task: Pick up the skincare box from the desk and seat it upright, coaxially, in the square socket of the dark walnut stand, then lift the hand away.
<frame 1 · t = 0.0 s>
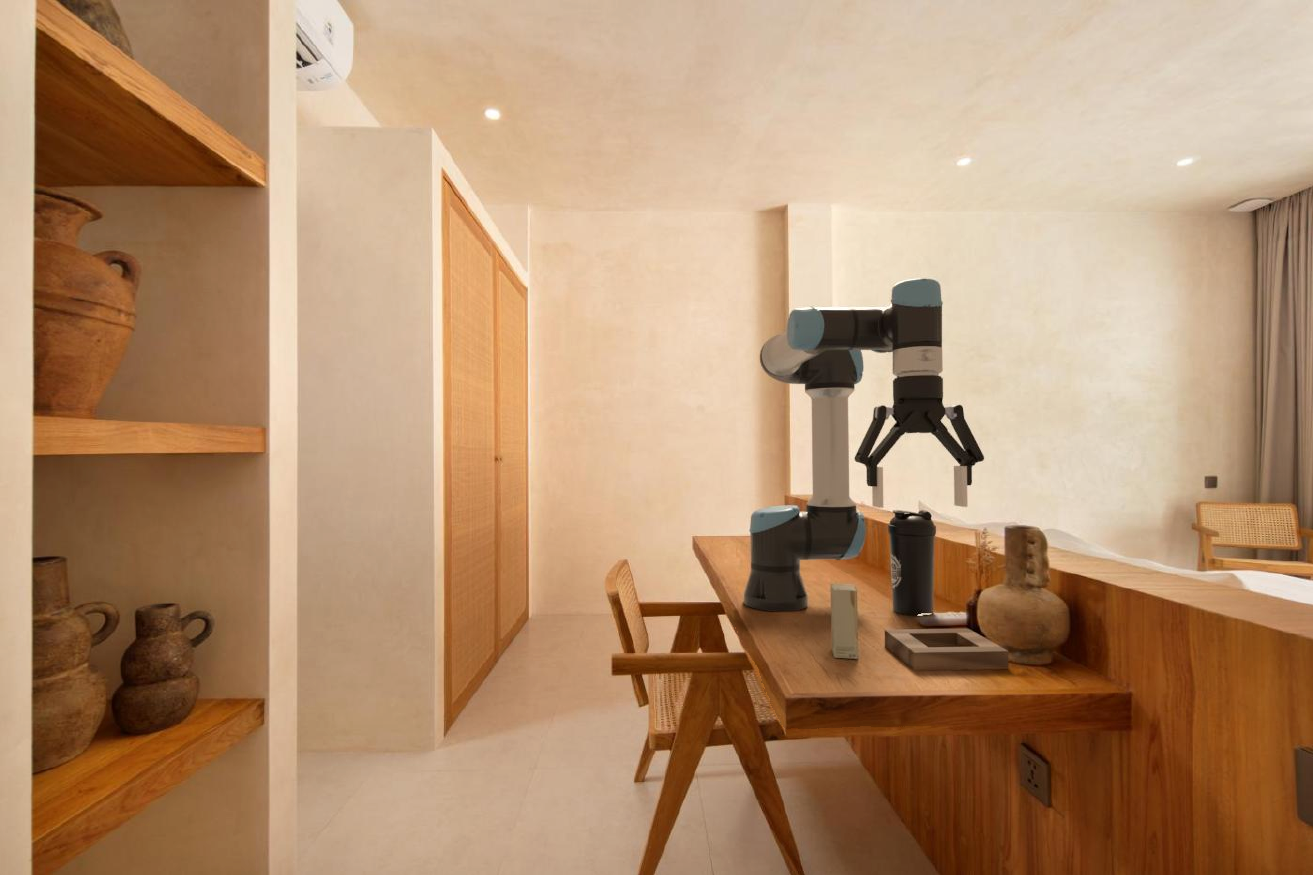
hand: (919, 506, 100), 28 cm above the table, tool pointing down, fingers open, 13 cm apart
skincare box: (844, 654, 113), on the table
socket stand: (943, 656, 111), on the table
water bottle: (912, 612, 141), on the table
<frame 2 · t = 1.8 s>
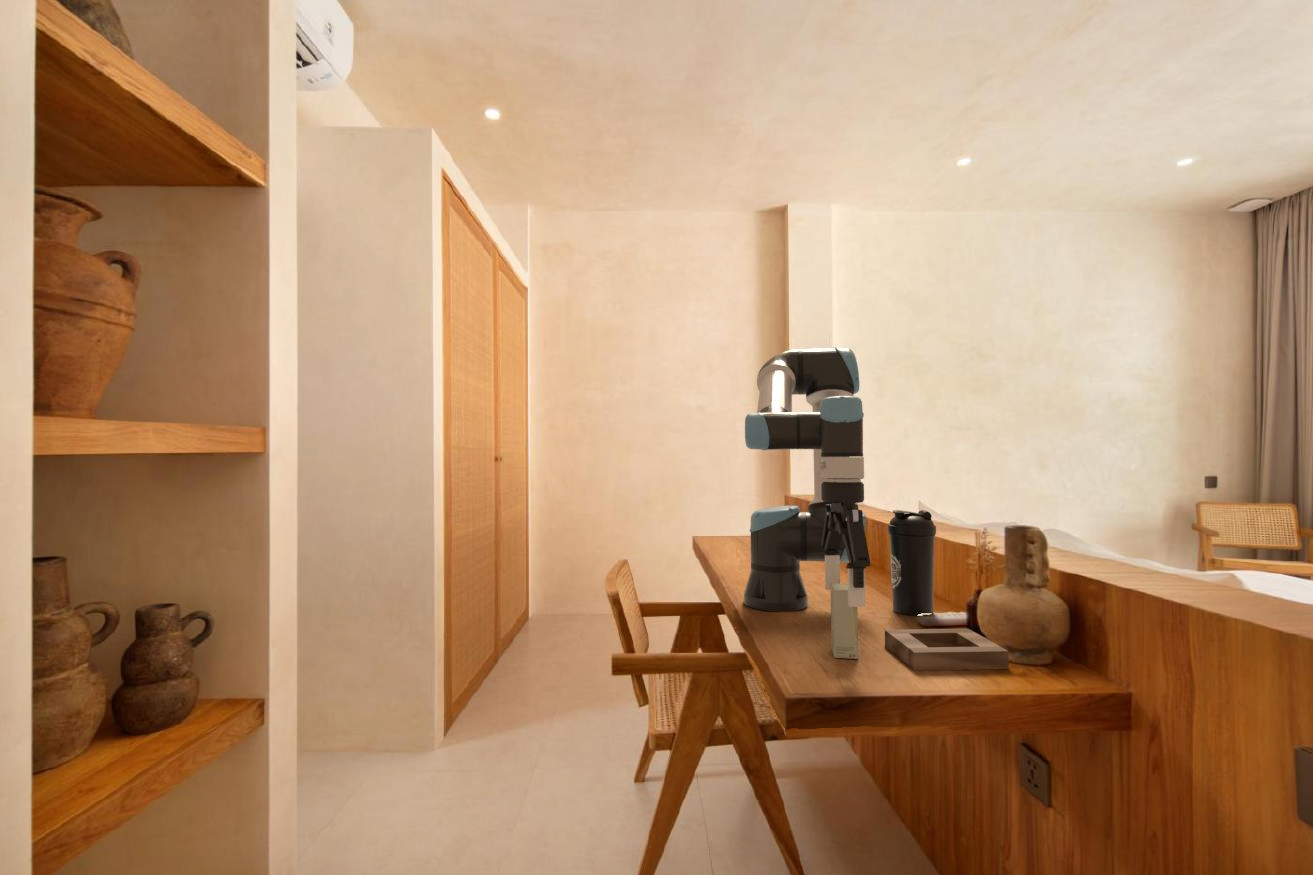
hand: (844, 597, 113), 10 cm above the table, tool pointing down, fingers open, 13 cm apart
nothing on the table moved.
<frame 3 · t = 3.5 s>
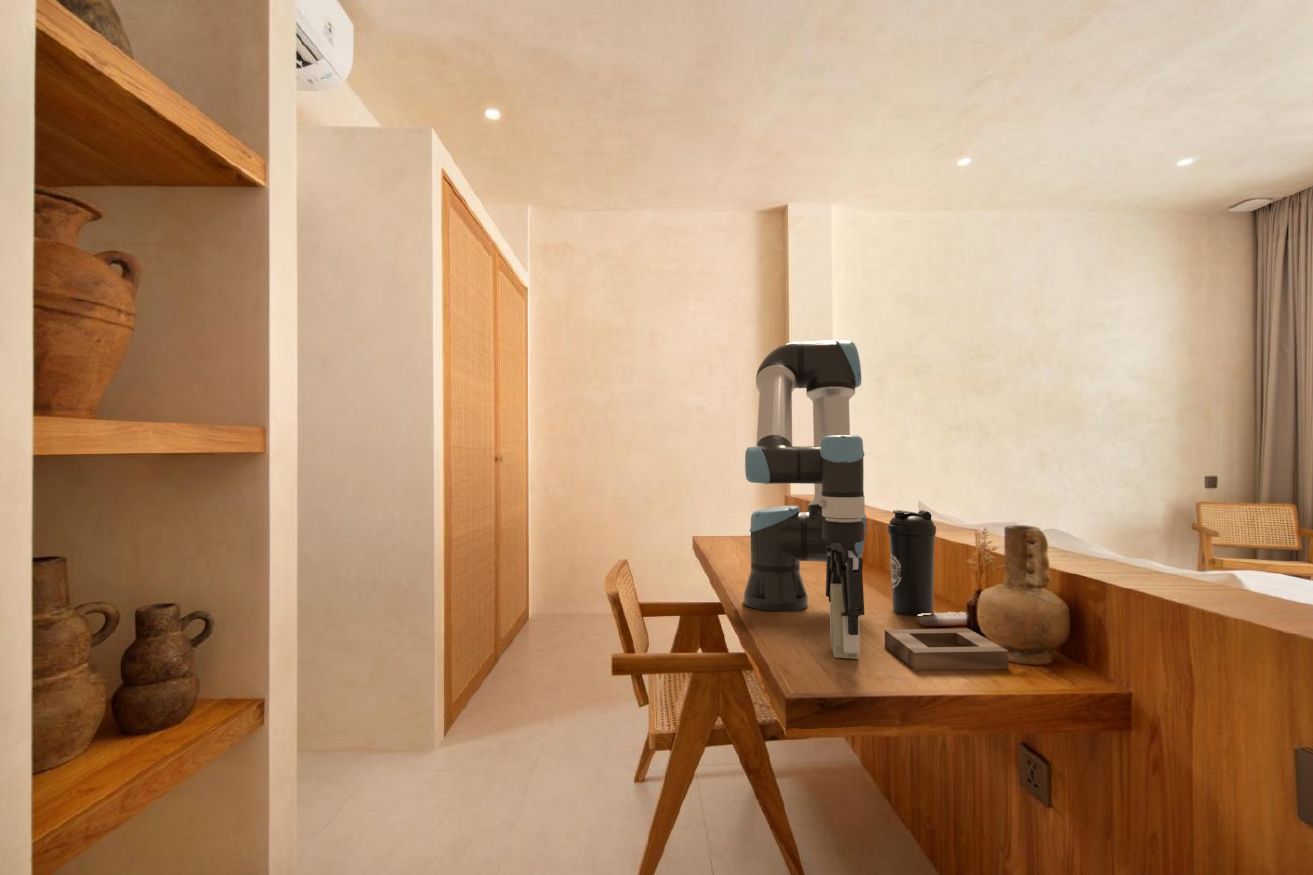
hand: (844, 644, 113), 2 cm above the table, tool pointing down, fingers closed on skincare box, 7 cm apart
skincare box: (844, 654, 113), on the table, touching gripper
everything else where it was.
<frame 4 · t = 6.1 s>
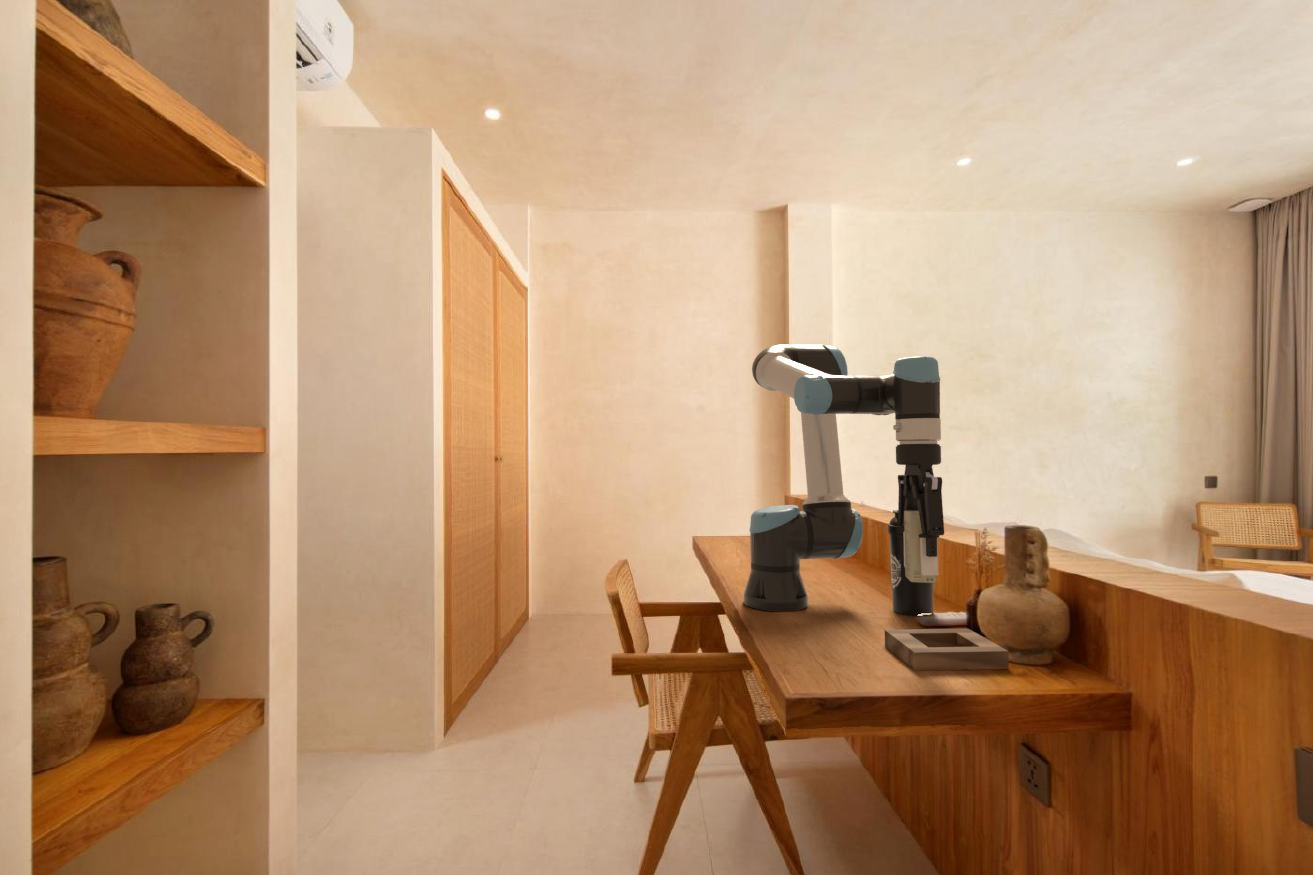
hand: (920, 570, 111), 15 cm above the table, tool pointing down, fingers closed on skincare box, 7 cm apart
skincare box: (920, 580, 111), point 14 cm above the table, touching gripper
everything else where it was.
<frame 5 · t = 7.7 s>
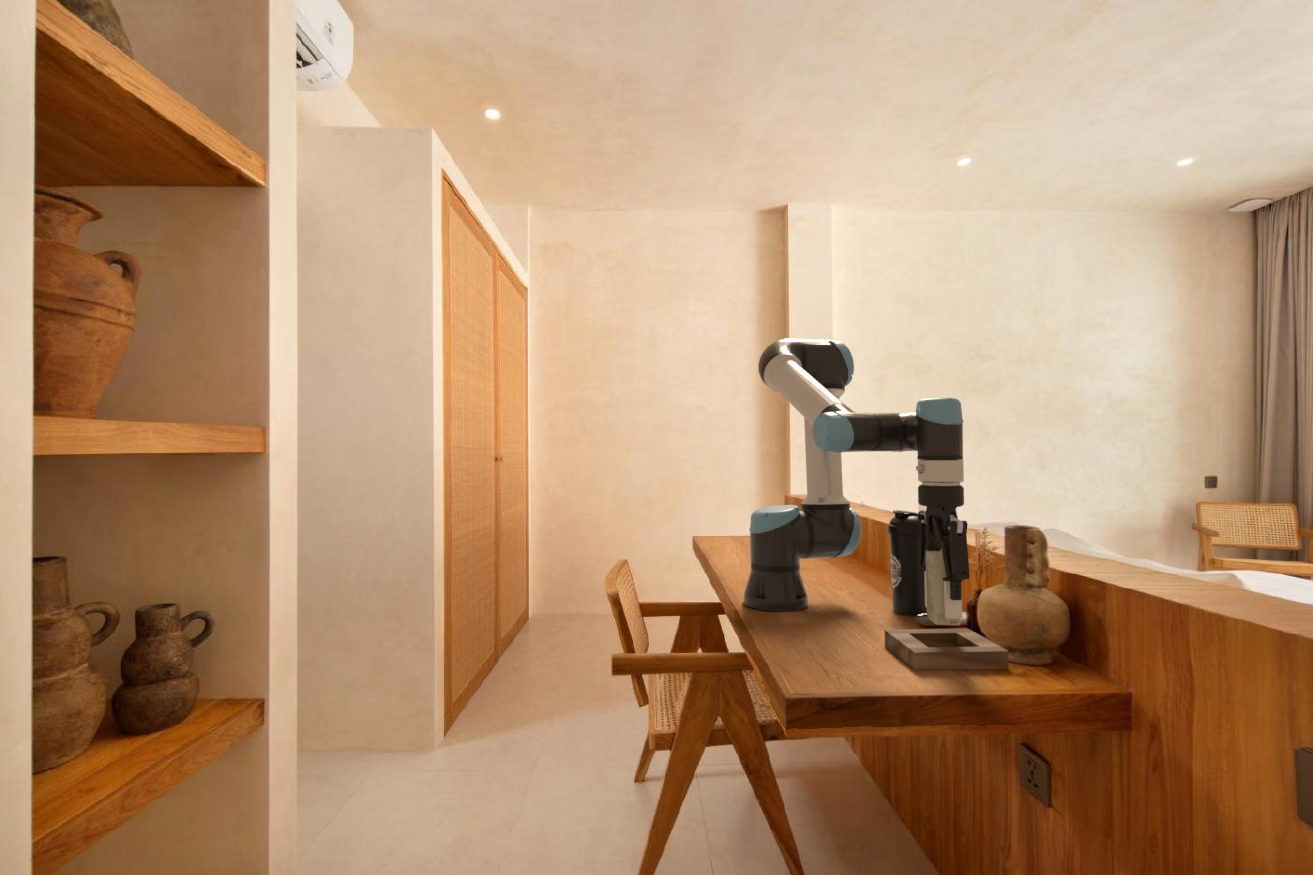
hand: (943, 612, 111), 8 cm above the table, tool pointing down, fingers closed on skincare box, 7 cm apart
skincare box: (942, 622, 111), point 6 cm above the table, touching gripper
everything else where it was.
when the fingers open (5 cm above the table, at t = 9.0 s): skincare box drops 3 cm, resting in socket stand.
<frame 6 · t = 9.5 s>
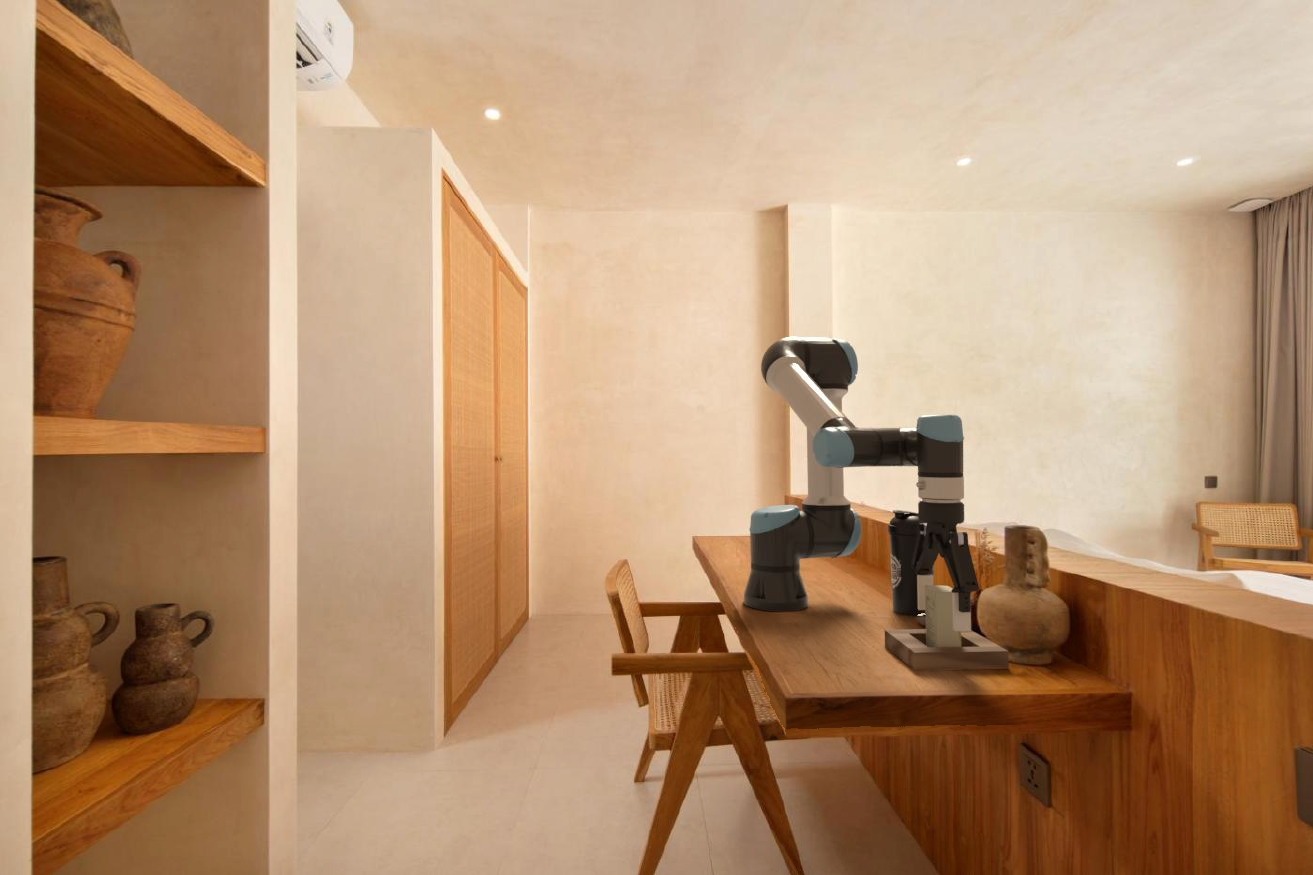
hand: (942, 619, 111), 7 cm above the table, tool pointing down, fingers open, 13 cm apart
skincare box: (943, 657, 111), resting in socket stand
everything else where it was.
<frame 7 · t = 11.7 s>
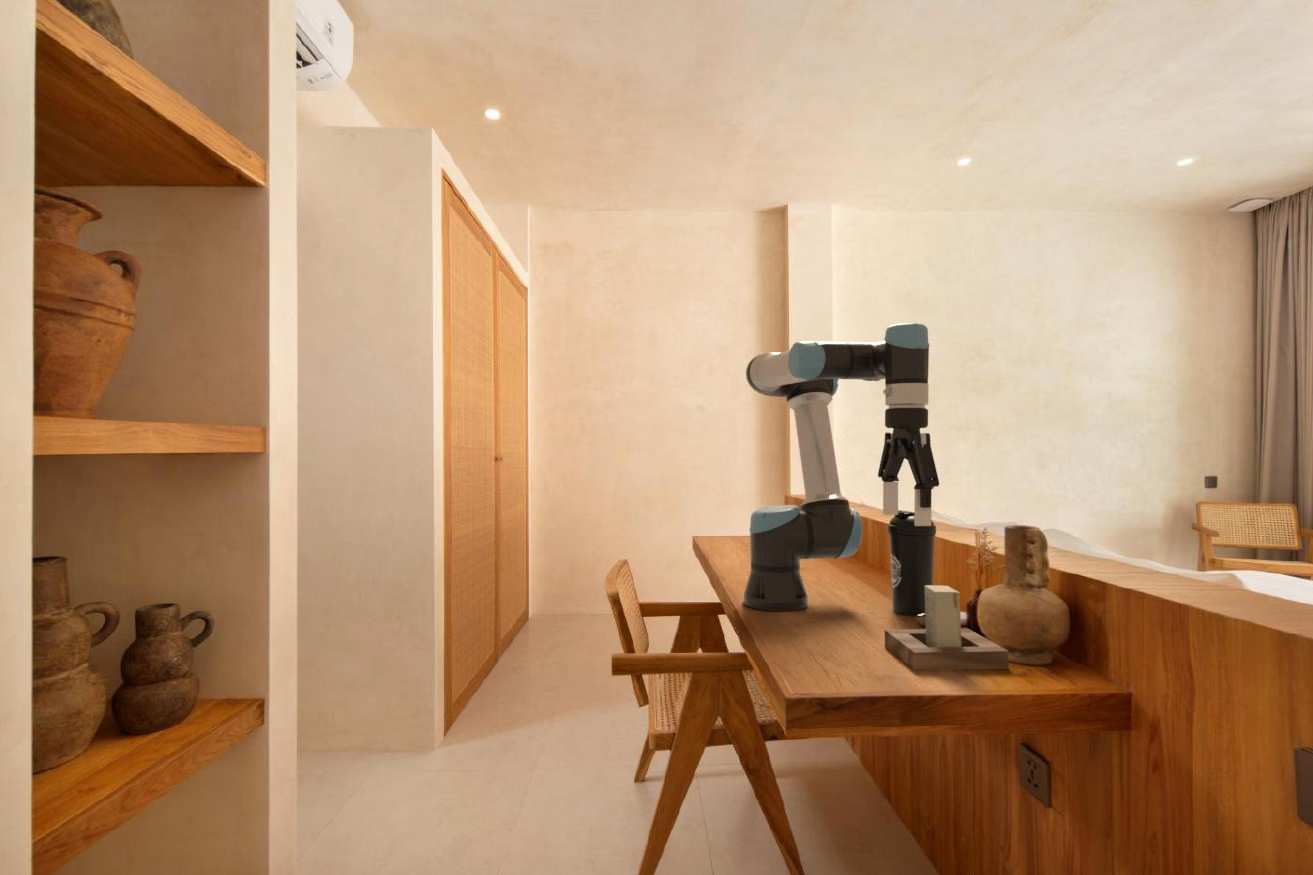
hand: (905, 520, 116), 24 cm above the table, tool pointing down, fingers open, 13 cm apart
nothing on the table moved.
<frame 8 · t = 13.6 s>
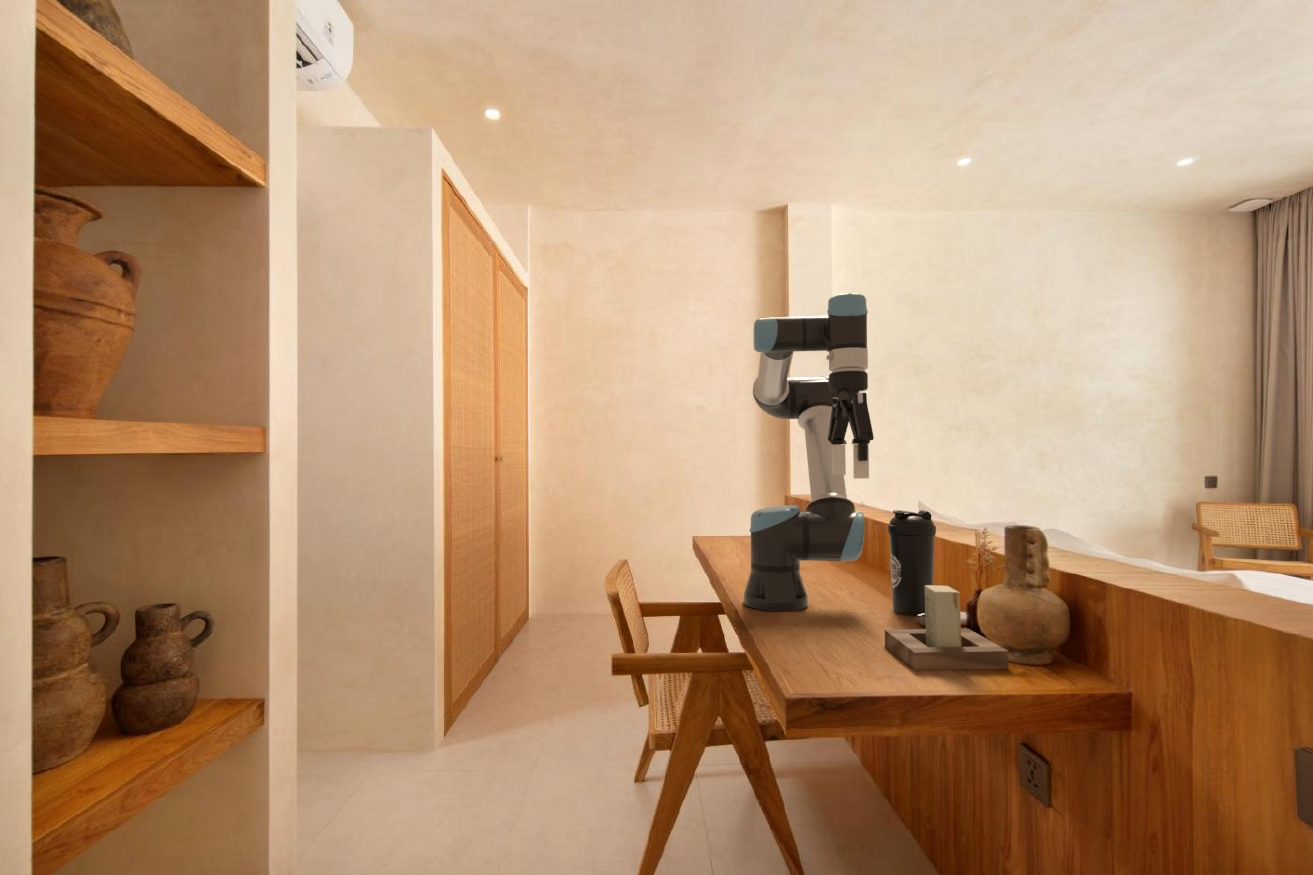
hand: (849, 476, 124), 32 cm above the table, tool pointing down, fingers open, 13 cm apart
nothing on the table moved.
at the end: skincare box 0.1 cm off-centre on the socket stand, point 0.0 cm above the socket stand's base; skincare box tilted 0°; the gripper is holding nothing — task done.
